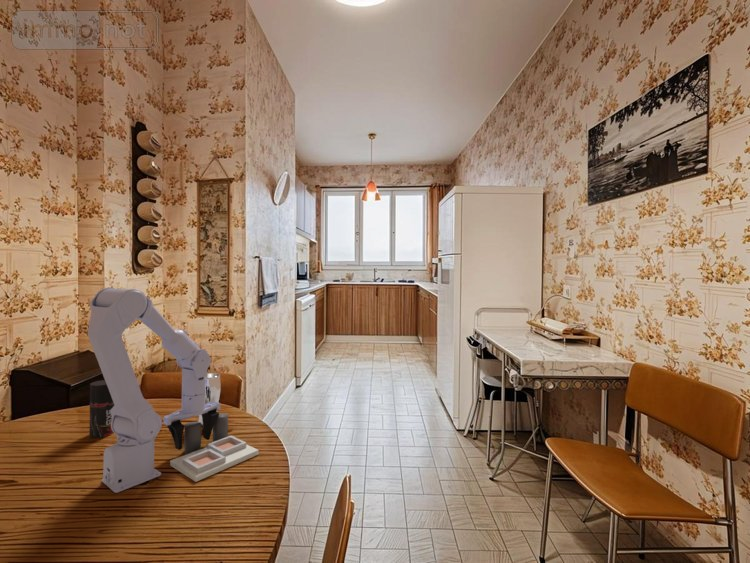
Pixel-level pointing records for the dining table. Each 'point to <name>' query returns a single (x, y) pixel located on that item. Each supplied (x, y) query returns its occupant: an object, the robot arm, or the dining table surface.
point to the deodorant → (100, 410)
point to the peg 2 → (220, 427)
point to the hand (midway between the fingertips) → (192, 443)
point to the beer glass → (211, 390)
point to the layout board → (214, 458)
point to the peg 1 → (192, 437)
